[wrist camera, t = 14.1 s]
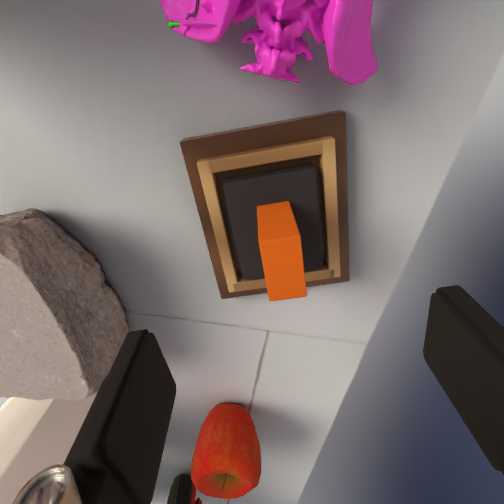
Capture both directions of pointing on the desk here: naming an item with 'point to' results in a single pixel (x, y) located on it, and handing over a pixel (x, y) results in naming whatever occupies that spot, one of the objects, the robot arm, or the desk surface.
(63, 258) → the decorative stone
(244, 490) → the apple
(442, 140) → the desk surface
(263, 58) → the pelvis
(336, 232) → the backing board
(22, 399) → the cup
